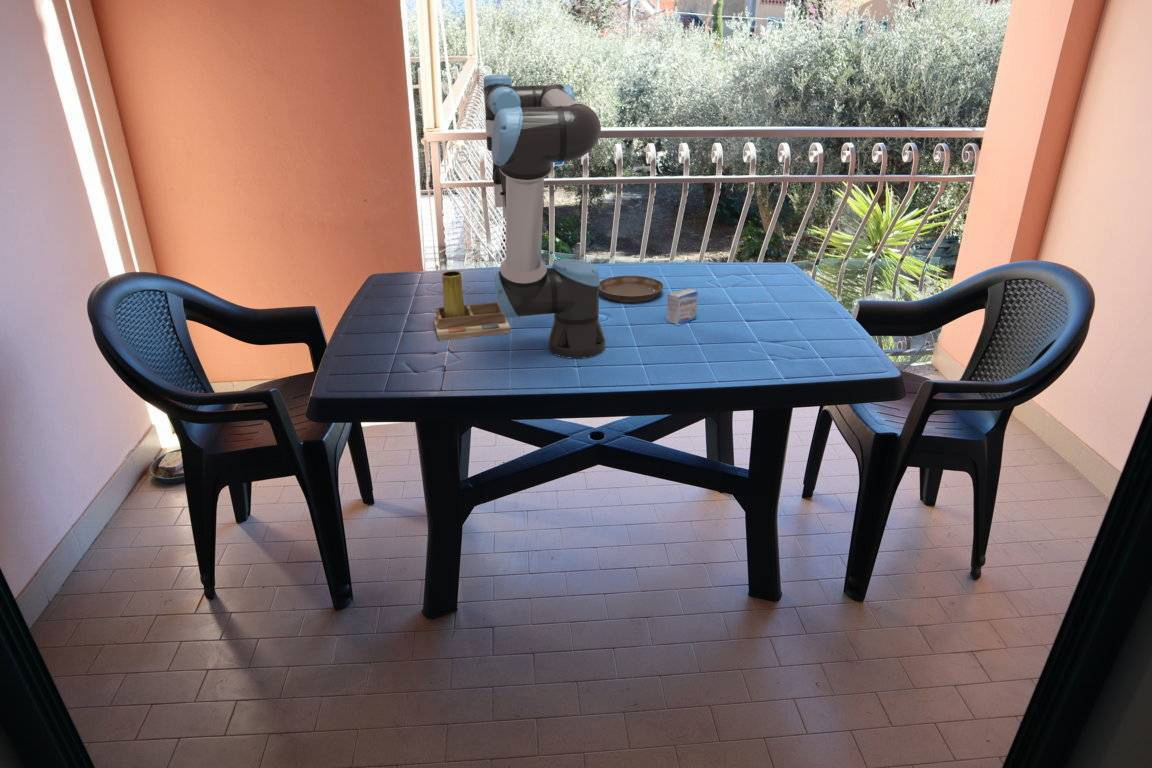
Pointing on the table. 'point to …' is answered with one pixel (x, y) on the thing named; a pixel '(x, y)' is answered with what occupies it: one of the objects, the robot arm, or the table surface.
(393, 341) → the table surface
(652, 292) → the plant saucer
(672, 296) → the medicine box
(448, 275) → the vase
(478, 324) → the tray
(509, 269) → the robot arm
